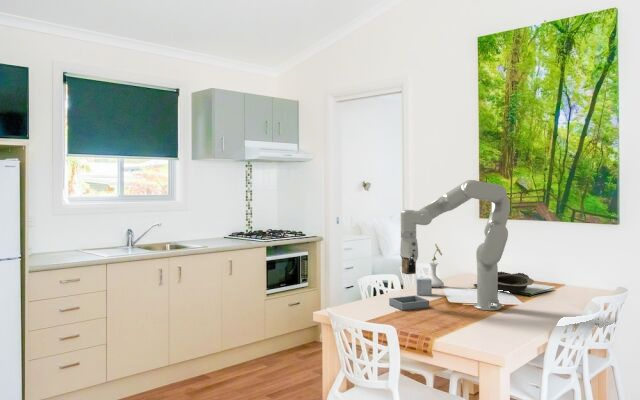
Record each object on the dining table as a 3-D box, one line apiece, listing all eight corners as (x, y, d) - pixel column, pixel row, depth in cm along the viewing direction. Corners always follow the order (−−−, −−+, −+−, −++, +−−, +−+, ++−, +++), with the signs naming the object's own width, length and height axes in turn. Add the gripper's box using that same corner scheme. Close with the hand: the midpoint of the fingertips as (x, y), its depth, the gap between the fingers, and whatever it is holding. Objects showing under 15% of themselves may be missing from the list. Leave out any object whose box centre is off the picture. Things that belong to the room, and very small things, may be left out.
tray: (429, 307, 260) (429, 300, 260) (402, 310, 254) (402, 303, 254) (415, 302, 272) (415, 295, 272) (389, 305, 267) (389, 298, 266)
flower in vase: (439, 289, 302) (439, 245, 301) (420, 287, 308) (420, 244, 307) (447, 285, 313) (447, 243, 312) (429, 283, 319) (429, 242, 318)
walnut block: (415, 273, 261) (415, 259, 261) (406, 274, 259) (406, 260, 259) (410, 272, 266) (410, 258, 266) (401, 272, 264) (401, 258, 264)
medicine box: (430, 293, 291) (430, 278, 291) (431, 295, 287) (431, 279, 286) (416, 293, 292) (416, 278, 292) (417, 295, 287) (416, 279, 287)
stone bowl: (499, 284, 313) (501, 268, 312) (541, 293, 295) (542, 277, 294) (477, 290, 296) (478, 273, 295) (520, 300, 278) (521, 283, 277)
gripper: (424, 236, 255) (424, 273, 256) (406, 233, 271) (406, 268, 272) (410, 237, 253) (410, 275, 253) (393, 233, 269) (393, 269, 269)
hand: (408, 271), depth 263 cm, fingers closed on walnut block, 5 cm apart
